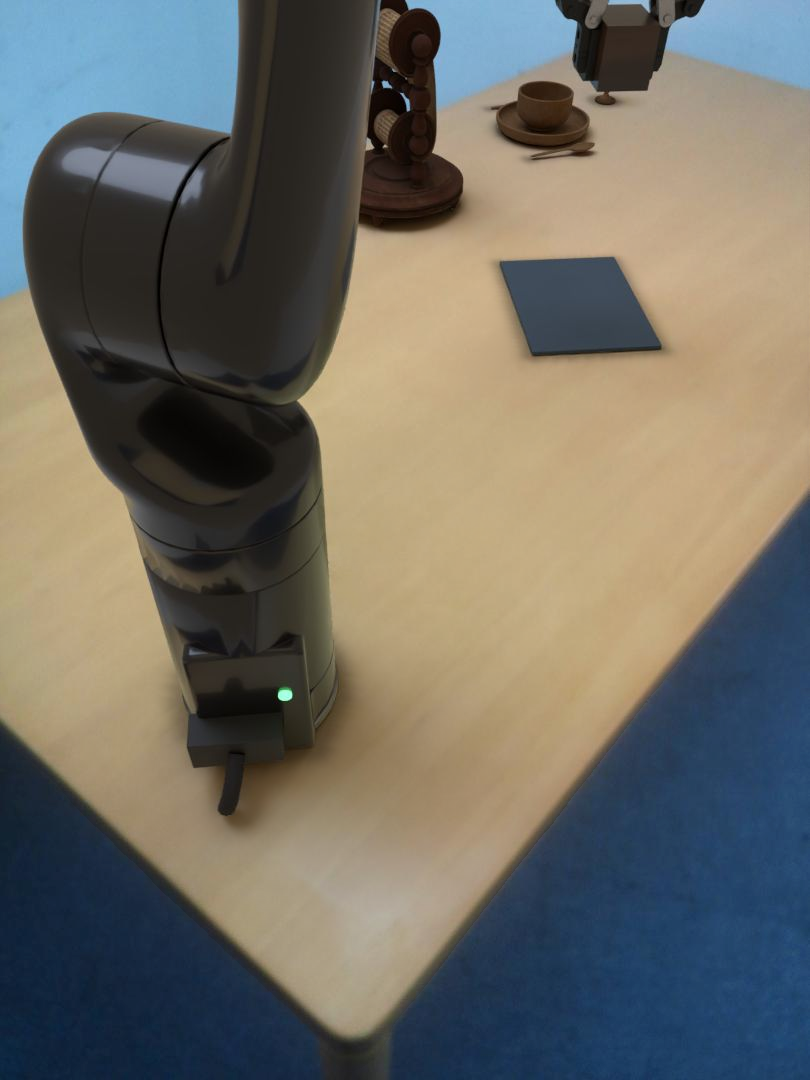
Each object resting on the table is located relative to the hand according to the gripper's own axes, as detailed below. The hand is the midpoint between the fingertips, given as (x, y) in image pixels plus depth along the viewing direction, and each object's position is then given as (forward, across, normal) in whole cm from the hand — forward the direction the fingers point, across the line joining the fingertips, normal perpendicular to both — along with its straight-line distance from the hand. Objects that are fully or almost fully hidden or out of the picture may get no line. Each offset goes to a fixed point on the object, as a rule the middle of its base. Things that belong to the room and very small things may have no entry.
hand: (614, 75), depth 68 cm
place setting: (+22, +10, +43) cm, 49 cm away
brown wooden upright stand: (+21, -14, +24) cm, 35 cm away
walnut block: (0, 0, 0) cm, 0 cm away
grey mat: (+21, +1, +1) cm, 21 cm away
